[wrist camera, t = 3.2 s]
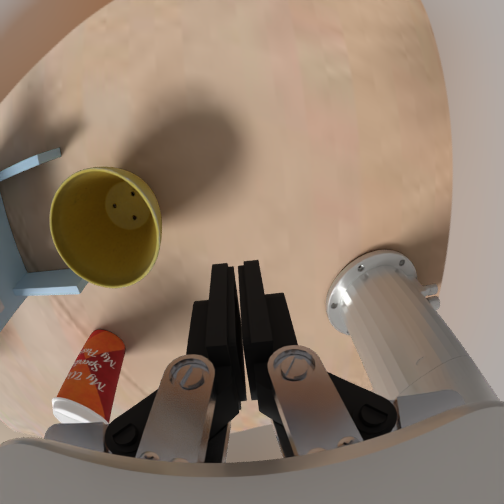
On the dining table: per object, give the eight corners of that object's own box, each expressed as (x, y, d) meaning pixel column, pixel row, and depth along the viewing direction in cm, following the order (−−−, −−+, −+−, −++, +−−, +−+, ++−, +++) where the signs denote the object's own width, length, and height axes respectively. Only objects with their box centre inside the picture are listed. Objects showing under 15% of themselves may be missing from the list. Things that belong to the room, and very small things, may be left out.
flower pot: (145, 133, 22) (113, 140, 15) (196, 223, 26) (185, 259, 20) (71, 187, 23) (31, 211, 17) (120, 263, 28) (96, 303, 21)
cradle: (57, 133, 20) (-26, 158, 10) (98, 284, 29) (55, 358, 18) (-11, 166, 20) (-76, 199, 10) (29, 288, 29) (-14, 344, 18)
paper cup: (122, 324, 32) (89, 414, 19) (139, 362, 35) (118, 444, 23) (76, 322, 32) (36, 400, 19) (95, 358, 35) (68, 432, 23)
